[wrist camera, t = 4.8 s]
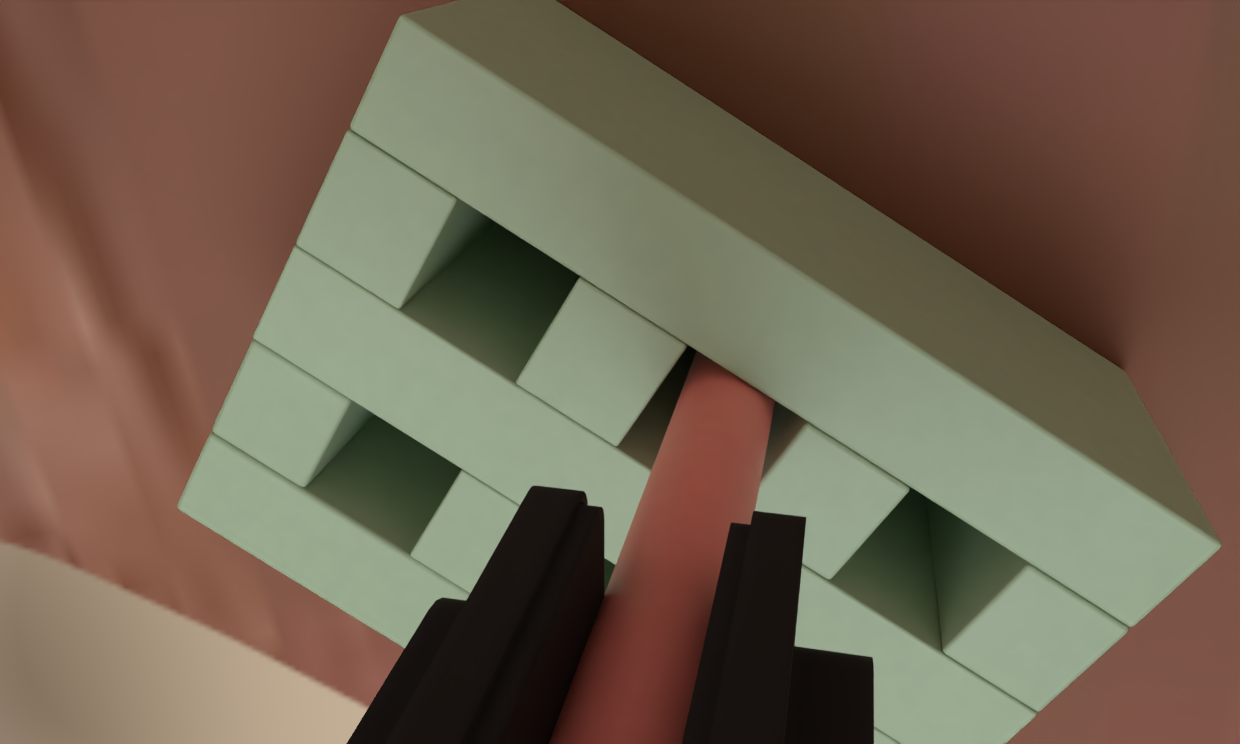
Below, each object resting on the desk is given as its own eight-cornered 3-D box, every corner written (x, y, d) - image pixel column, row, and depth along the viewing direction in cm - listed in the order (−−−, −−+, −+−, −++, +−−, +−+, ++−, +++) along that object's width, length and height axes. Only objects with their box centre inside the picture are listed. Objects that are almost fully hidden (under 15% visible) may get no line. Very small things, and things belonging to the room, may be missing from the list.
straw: (768, 268, 19) (572, 999, 6) (803, 335, 19) (682, 1152, 7) (699, 299, 19) (390, 1035, 7) (733, 364, 20) (500, 1174, 7)
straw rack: (527, -19, 19) (398, 12, 14) (1128, 372, 20) (1225, 546, 15) (330, 369, 24) (173, 509, 18) (832, 683, 24) (824, 909, 19)
